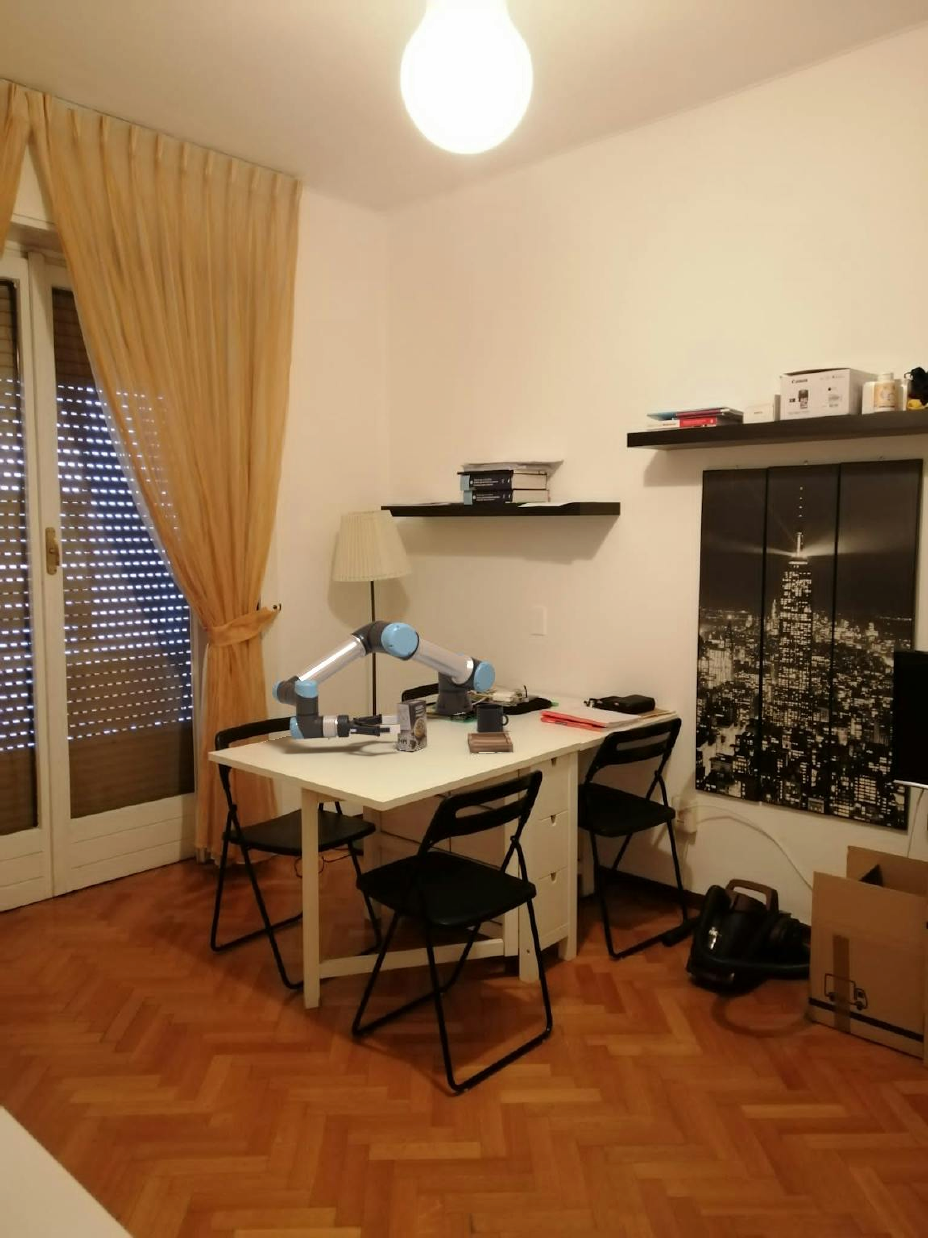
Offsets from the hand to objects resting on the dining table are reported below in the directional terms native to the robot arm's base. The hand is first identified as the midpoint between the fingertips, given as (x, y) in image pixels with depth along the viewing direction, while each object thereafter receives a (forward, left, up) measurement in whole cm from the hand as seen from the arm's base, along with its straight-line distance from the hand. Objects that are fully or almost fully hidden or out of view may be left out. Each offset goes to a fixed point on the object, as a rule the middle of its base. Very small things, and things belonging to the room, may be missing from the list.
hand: (400, 724), depth 305 cm
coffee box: (-1, +4, -9) cm, 10 cm away
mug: (-21, +33, -9) cm, 40 cm away
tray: (0, +30, -9) cm, 31 cm away
